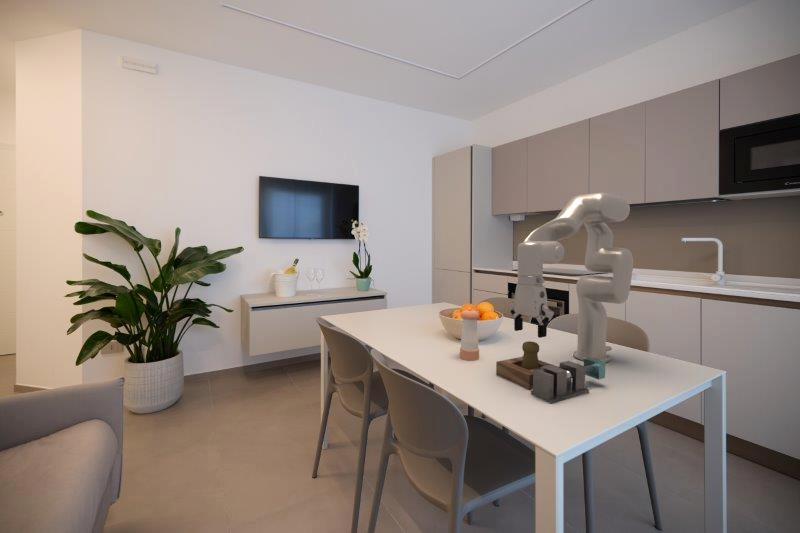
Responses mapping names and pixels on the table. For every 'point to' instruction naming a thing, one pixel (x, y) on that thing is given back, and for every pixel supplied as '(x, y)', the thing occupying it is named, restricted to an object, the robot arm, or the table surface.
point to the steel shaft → (592, 368)
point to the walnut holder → (517, 371)
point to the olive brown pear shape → (530, 355)
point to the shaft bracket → (559, 382)
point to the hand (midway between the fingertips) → (529, 333)
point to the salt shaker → (469, 335)
